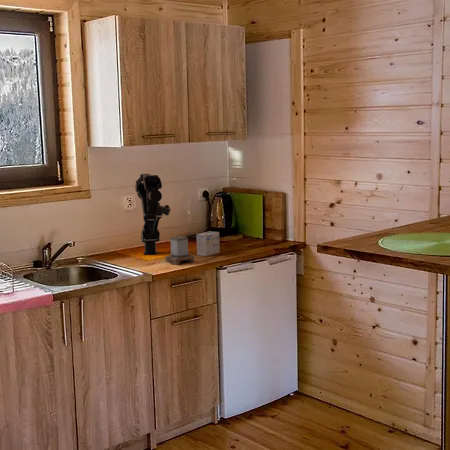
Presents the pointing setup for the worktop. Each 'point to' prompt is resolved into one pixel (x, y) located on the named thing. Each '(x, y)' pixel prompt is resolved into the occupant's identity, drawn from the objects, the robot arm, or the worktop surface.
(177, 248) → the block
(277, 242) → the worktop surface
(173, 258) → the walnut stand
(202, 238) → the light bulb box
